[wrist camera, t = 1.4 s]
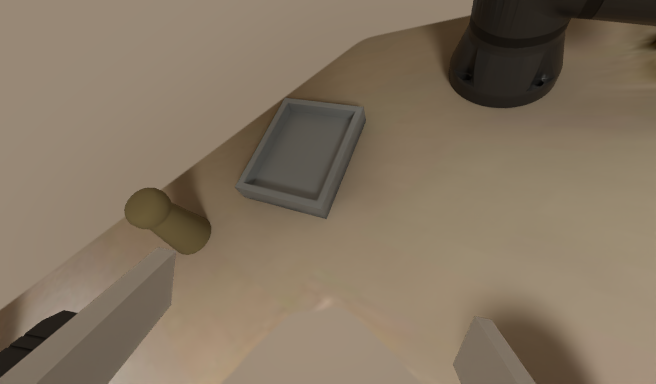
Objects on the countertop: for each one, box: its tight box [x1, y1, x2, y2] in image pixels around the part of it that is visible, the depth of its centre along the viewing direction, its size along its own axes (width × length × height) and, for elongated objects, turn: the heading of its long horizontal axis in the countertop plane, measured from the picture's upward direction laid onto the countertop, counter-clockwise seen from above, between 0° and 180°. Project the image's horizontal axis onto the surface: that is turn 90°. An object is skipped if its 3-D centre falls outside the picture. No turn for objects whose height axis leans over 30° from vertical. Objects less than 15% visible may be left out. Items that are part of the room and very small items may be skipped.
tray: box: [235, 98, 366, 219], centre depth 47 cm, size 18×14×3 cm
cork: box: [124, 188, 211, 255], centre depth 41 cm, size 6×6×11 cm
